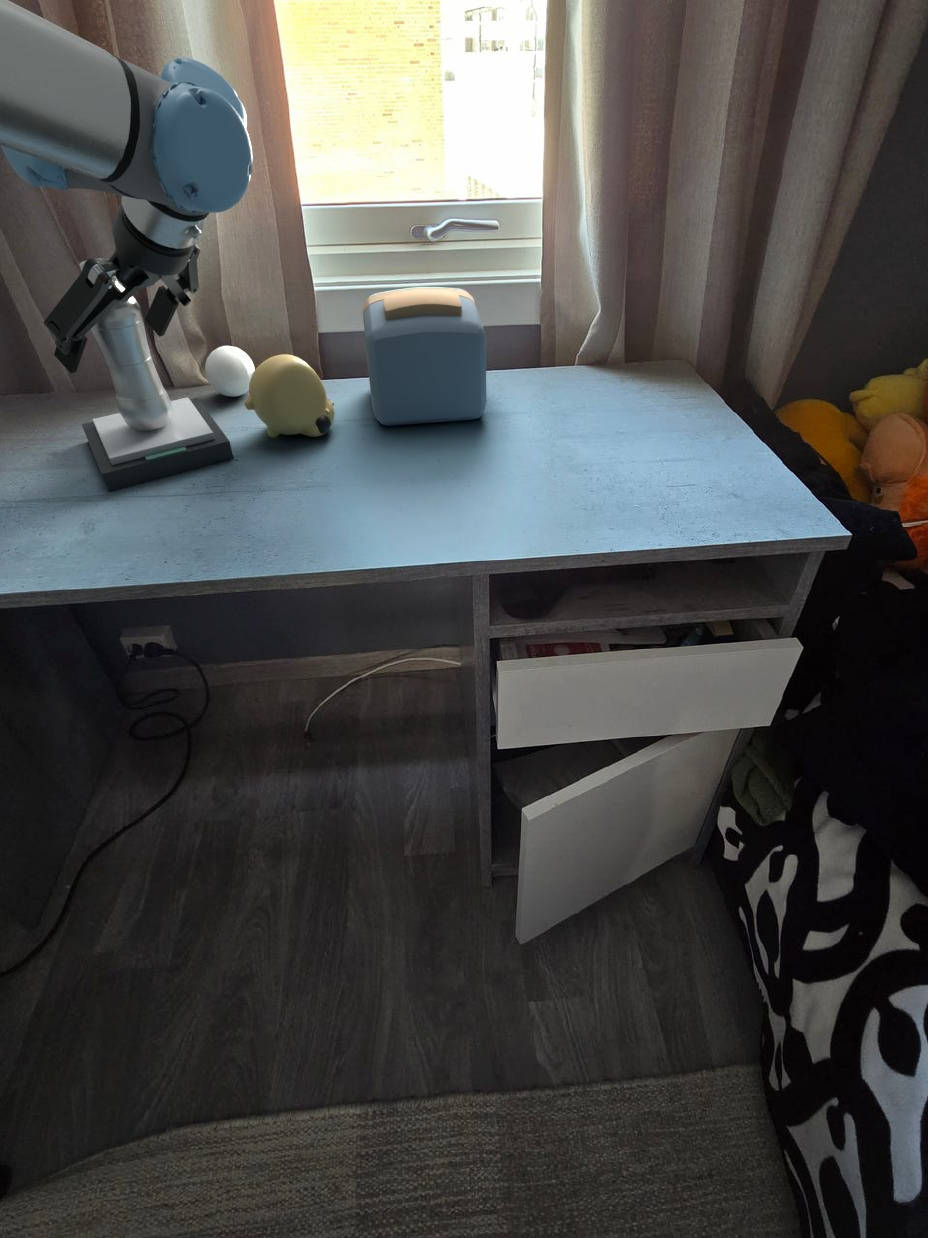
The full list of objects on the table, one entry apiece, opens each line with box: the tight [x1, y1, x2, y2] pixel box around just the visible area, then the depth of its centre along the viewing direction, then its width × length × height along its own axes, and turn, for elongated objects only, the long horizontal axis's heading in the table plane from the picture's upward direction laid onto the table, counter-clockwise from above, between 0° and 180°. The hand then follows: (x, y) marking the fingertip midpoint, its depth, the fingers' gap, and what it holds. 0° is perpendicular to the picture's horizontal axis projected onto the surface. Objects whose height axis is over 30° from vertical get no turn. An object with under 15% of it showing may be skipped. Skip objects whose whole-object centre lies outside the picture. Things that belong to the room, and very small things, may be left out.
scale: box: [81, 396, 235, 492], centre depth 93 cm, size 16×16×4 cm
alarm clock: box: [362, 286, 488, 427], centre depth 99 cm, size 16×16×16 cm
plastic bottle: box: [79, 257, 173, 431], centre depth 85 cm, size 6×7×20 cm
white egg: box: [204, 345, 257, 398], centre depth 106 cm, size 10×7×7 cm
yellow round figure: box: [244, 353, 336, 438], centre depth 95 cm, size 10×12×11 cm
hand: (112, 344), depth 86 cm, fingers open, 13 cm apart
